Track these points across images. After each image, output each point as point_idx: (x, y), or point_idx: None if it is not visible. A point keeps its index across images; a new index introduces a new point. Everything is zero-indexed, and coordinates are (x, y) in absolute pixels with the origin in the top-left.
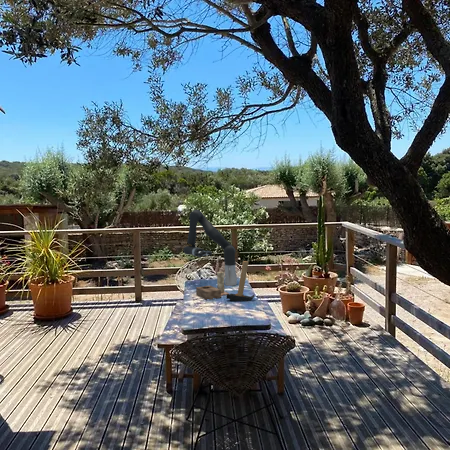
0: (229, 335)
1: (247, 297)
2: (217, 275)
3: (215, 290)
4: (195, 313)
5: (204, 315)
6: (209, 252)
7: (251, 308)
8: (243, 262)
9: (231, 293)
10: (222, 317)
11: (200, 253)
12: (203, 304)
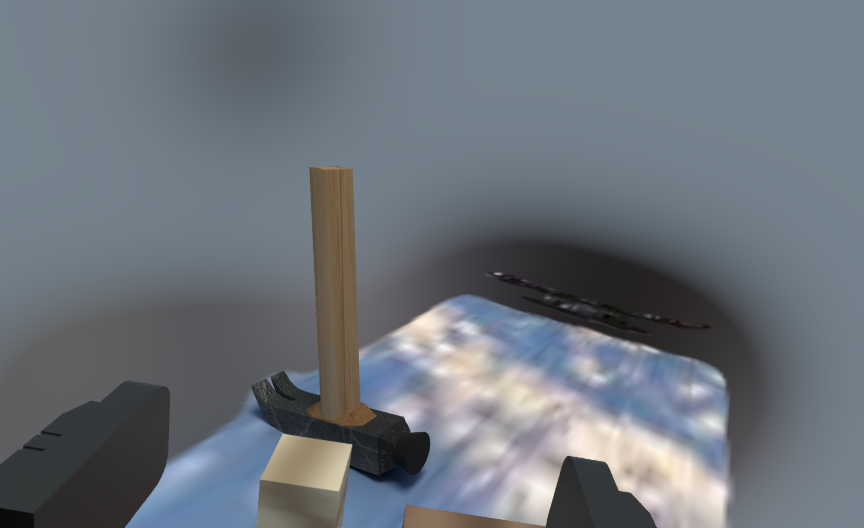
0: (595, 305)
1: (315, 394)
2: (335, 524)
3: (459, 518)
4: (674, 437)
5: (633, 404)
6: (93, 461)
7: (395, 358)
8: (352, 175)
9: (377, 436)
10: (565, 363)
11: (622, 514)
12: None
